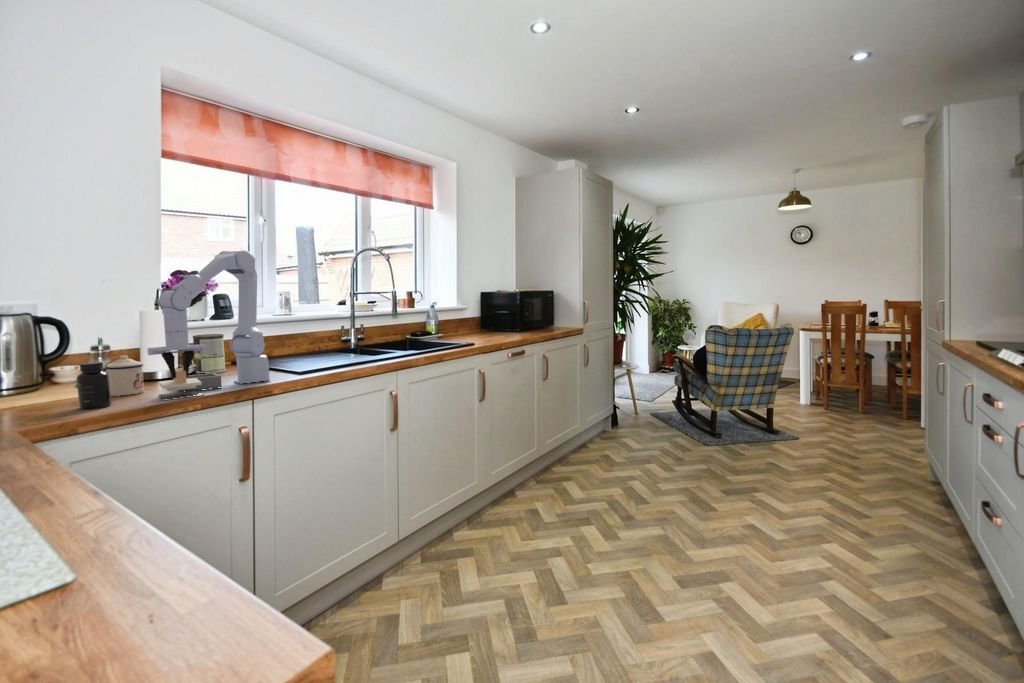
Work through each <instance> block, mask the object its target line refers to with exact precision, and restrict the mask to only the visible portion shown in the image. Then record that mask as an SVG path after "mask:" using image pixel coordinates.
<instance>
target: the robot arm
mask: <svg viewBox="0 0 1024 683" xmlns="http://www.w3.org/2000/svg"><path fill="white" fill-rule="evenodd" d="M223 271H225V272H226V273H229V274H231V275H233V277H235V278H236V279H237V280H238V314H237V315H238V316H237V318H238V319H237V320H238V322H237V328H235V329H234V331H233V332H232V337H231V340H230V343H229V348H230V350H231V351H232V353H233V354H234V357H236V372H237V375H236V376H237V379H234V380H233V382H234V381H235V383H237V384H239V383H240V384H239V385H243V384H242V383H247V384H250V383H249V382H256V383H259V382H258V381H264V382H270V381H271V379H270V365H269V358H268V356H267V355H266V354H262V353H263V352H264V350H265V346H266V345H265V340H264V335H263V332H262V331H261V330H260V329H259V328H258V327H257V317H258V316H257V314H258V313H257V312H258V309H257V307H258V306H257V305H258V303H257V302H258V274H257V270H256V258H255V256H254V255H253V254H252V253H251V252H250V251H249V250H246V249H241V250H222V251H220V252H219V253H218V254H216V255H214V258H213V259H212V260H211V261H210V262H209V263H207V264H206V266H204V267H203V268H202V269H201V270H200V271H199V272H198V273H197V274H193V273H192V274H186V275H184V276H183V278H182V280H181V281H180V282H178V283H177V284H174V285H172V286H171V289H170V290H164V291H163V292H161V294H160V295H159V297H158V300H156V301H157V305H158V307H160V309H161V312H162V315H163V325H164V338H165V346H157V347H156V346H155V347H147V348H146V349H147V356H153V355H154V356H155V355H161V357H162V359H163V360H164V362H165V363H166V365H167V367H168V369H169V373H170V375H171V379H174V378H176V373H175V369H176V368H175V367H176V366H175V365H176V364H175V358H176V357H175V355H174V354H179V353H180V354H181V357H182V367H183V368H182V369H184V370H185V371H186V377H188V376H189V370H190V366H191V363H192V361H193V358H195V357H194V352H196V351H207V349H206V345H205V344H201V345H194V344H190V342H189V330H188V329H189V328H188V313H187V312H188V311H187V309H188V308H190V306H191V304H192V300H194V298H196V297H197V296H198V295H199V294H200V293H202V292H204V290H205V289H206V283H208V282H209V281H210V280H212V279H213V278H215V277H216V276H217V275H219V274H220V273H222V272H223Z"/></svg>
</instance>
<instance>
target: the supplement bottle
mask: <svg viewBox="0 0 1024 683" xmlns="http://www.w3.org/2000/svg"><path fill="white" fill-rule="evenodd" d="M79 368H80V369H79V370H80V373H79V374H78V375H77V376H76V385H77V386H76V387H77V394H78V396H77V397H78V404H79V409H81V410H95V408H98V409H102V407H103V408H107V407H110V406H111V405H112V396H111V392H110V383H109V375H108V374H107V371H103V370H104V369H105V368H104V363H103V361H92V362H91V361H90V362H83V363H80V364H79ZM109 405H110V406H109ZM106 406H107V407H106Z"/></svg>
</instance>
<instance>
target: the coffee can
mask: <svg viewBox="0 0 1024 683" xmlns="http://www.w3.org/2000/svg"><path fill="white" fill-rule="evenodd" d="M224 336H225V335H224V334H222V333H207V334H195V335H192V339H193V340H192V342H193V345H201V344H205V345H206V349H207V351H196V352H194V357H193V358H194V365H195V364H196V365H197V368H196V374H200V373H205V374H209V373H216V374H218V373H223V372H225V371H226V357H225V341H224V340H225V339H224Z"/></svg>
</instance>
